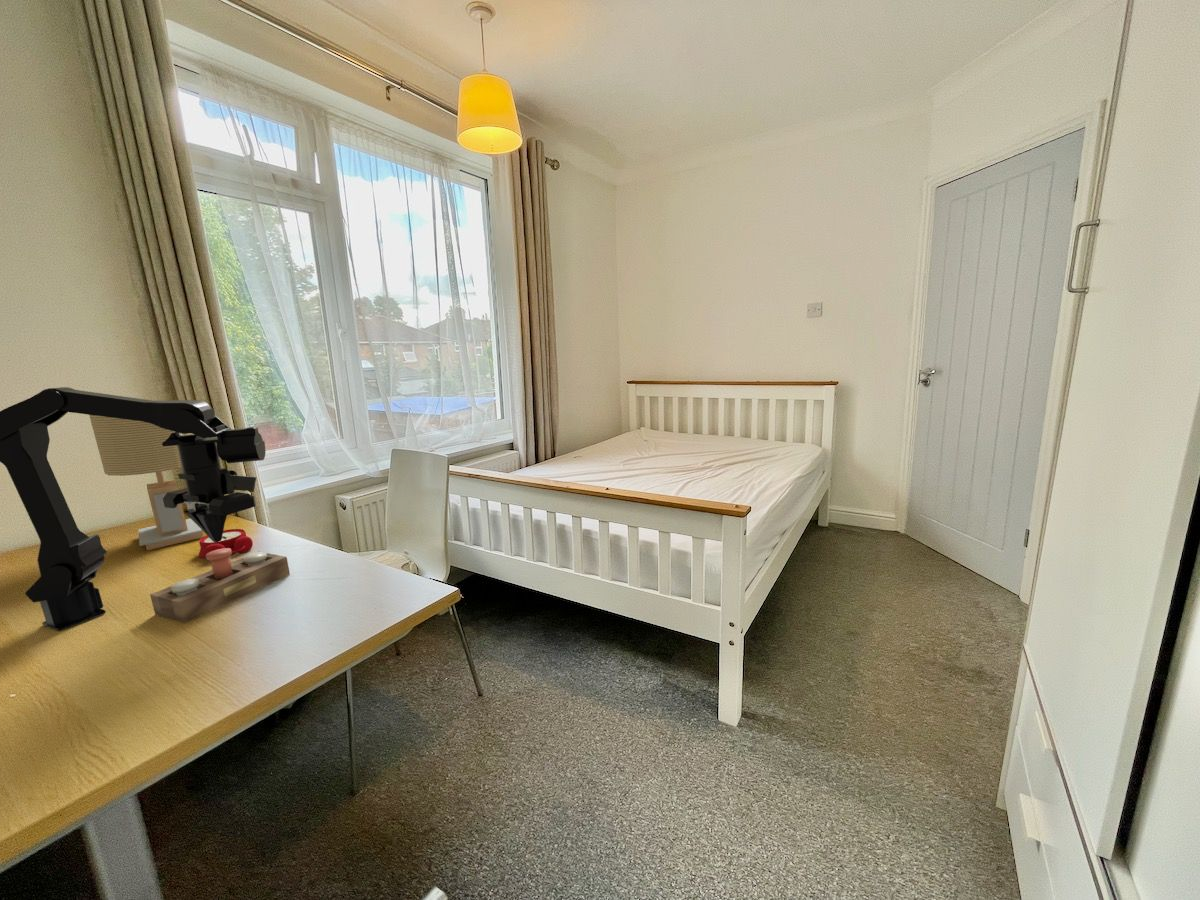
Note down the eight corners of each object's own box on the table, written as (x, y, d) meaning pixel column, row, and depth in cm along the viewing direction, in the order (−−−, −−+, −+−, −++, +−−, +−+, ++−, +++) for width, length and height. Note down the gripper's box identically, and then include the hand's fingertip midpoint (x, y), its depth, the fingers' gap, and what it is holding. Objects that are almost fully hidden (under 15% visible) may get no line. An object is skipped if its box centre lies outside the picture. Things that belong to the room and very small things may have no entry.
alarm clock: (241, 525, 127) (254, 525, 117) (247, 548, 127) (260, 549, 117) (191, 537, 119) (200, 538, 109) (197, 561, 120) (207, 564, 110)
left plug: (185, 615, 89) (179, 590, 88) (172, 611, 90) (166, 587, 89) (209, 604, 92) (203, 580, 91) (196, 601, 94) (190, 577, 93)
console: (185, 623, 86) (179, 602, 86) (155, 614, 90) (149, 594, 89) (290, 574, 105) (287, 556, 104) (262, 568, 108) (258, 551, 107)
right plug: (256, 583, 100) (251, 560, 99) (244, 580, 102) (239, 558, 101) (275, 574, 104) (270, 553, 103) (262, 572, 106) (258, 550, 105)
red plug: (219, 581, 94) (213, 557, 93) (206, 578, 95) (201, 555, 94) (240, 572, 97) (235, 549, 96) (228, 569, 99) (223, 547, 98)
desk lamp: (125, 538, 130) (91, 411, 123) (214, 519, 144) (189, 403, 136) (124, 559, 117) (86, 417, 109) (224, 535, 130) (196, 407, 123)
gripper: (275, 459, 96) (288, 531, 99) (216, 454, 103) (230, 522, 106) (215, 472, 86) (231, 553, 89) (153, 466, 93) (170, 541, 96)
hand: (217, 541), depth 95 cm, fingers closed
